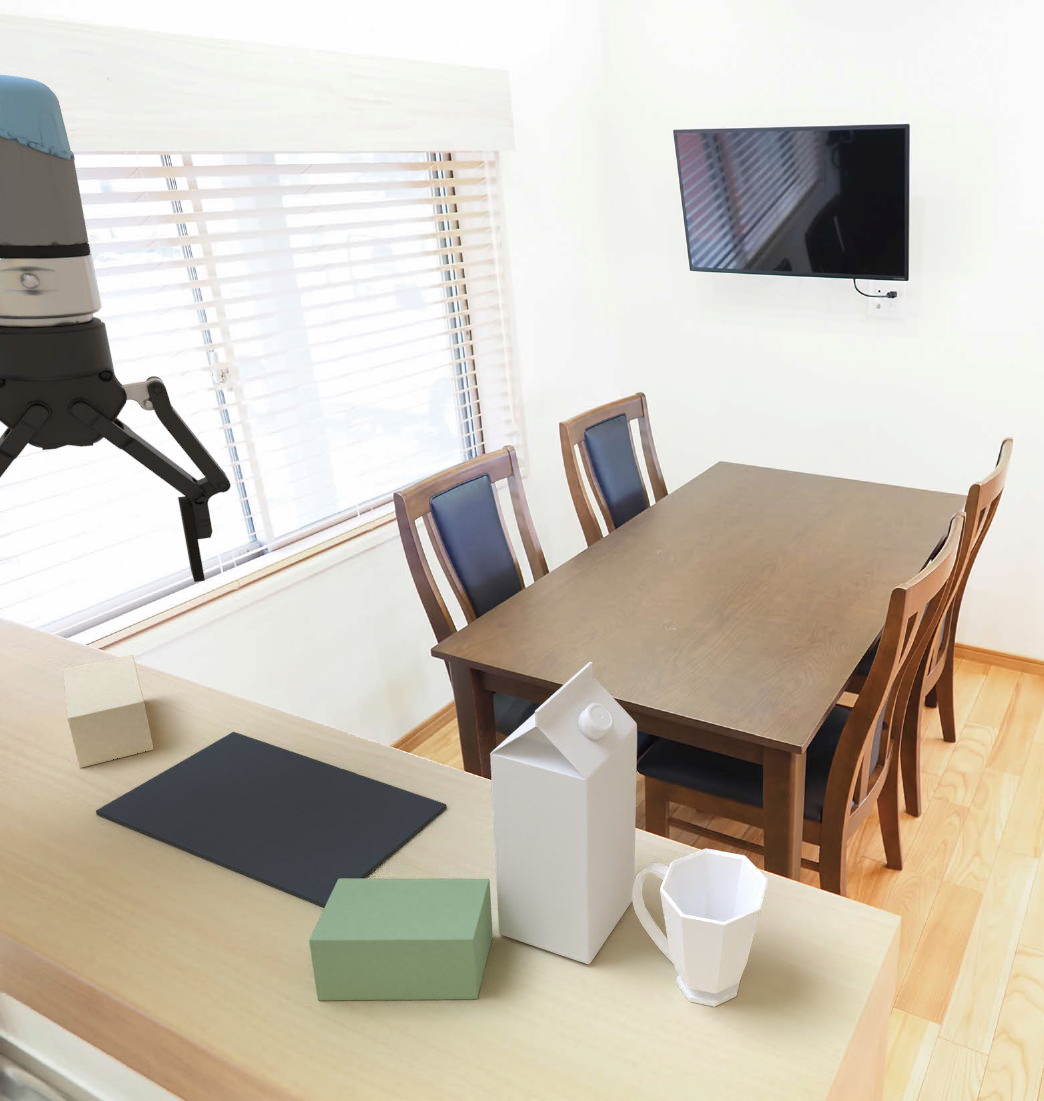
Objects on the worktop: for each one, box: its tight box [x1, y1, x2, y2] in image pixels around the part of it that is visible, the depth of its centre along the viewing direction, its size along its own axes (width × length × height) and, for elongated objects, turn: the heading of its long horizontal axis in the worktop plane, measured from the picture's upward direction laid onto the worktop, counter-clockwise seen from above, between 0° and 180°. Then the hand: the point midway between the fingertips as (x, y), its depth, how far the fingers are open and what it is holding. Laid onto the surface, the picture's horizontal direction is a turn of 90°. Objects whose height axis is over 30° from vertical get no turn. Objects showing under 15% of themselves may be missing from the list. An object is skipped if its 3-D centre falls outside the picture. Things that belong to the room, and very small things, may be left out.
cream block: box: [62, 654, 154, 769], centre depth 84 cm, size 10×6×5 cm, turn 35°
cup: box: [632, 848, 769, 1008], centre depth 62 cm, size 7×10×8 cm
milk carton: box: [489, 661, 638, 965], centre depth 63 cm, size 7×7×19 cm
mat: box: [95, 731, 448, 909], centre depth 76 cm, size 24×13×1 cm, turn 67°
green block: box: [308, 878, 494, 1001], centre depth 61 cm, size 10×6×5 cm, turn 93°
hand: (100, 591), depth 74 cm, fingers open, 13 cm apart
